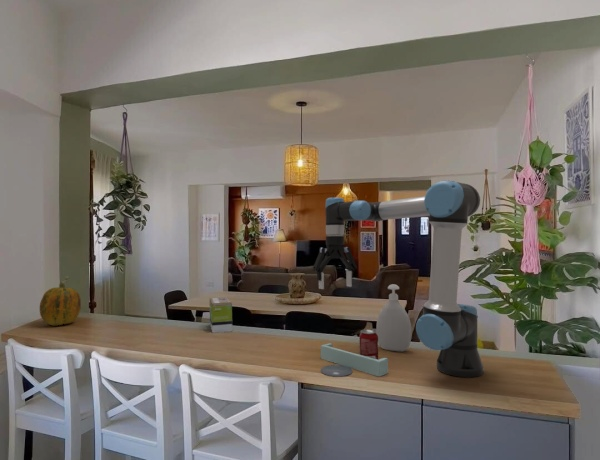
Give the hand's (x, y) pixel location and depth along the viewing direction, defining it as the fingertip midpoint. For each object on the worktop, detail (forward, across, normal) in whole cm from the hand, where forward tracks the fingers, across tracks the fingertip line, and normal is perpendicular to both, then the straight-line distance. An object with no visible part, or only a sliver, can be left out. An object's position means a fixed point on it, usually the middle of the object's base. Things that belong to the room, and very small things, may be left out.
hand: (335, 287), depth 165 cm
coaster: (+26, +13, +20) cm, 35 cm away
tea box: (+25, +29, -60) cm, 72 cm away
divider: (+26, +5, +18) cm, 32 cm away
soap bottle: (+26, -22, +10) cm, 36 cm away
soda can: (+26, -1, +19) cm, 33 cm away
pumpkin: (+25, +100, -111) cm, 152 cm away
